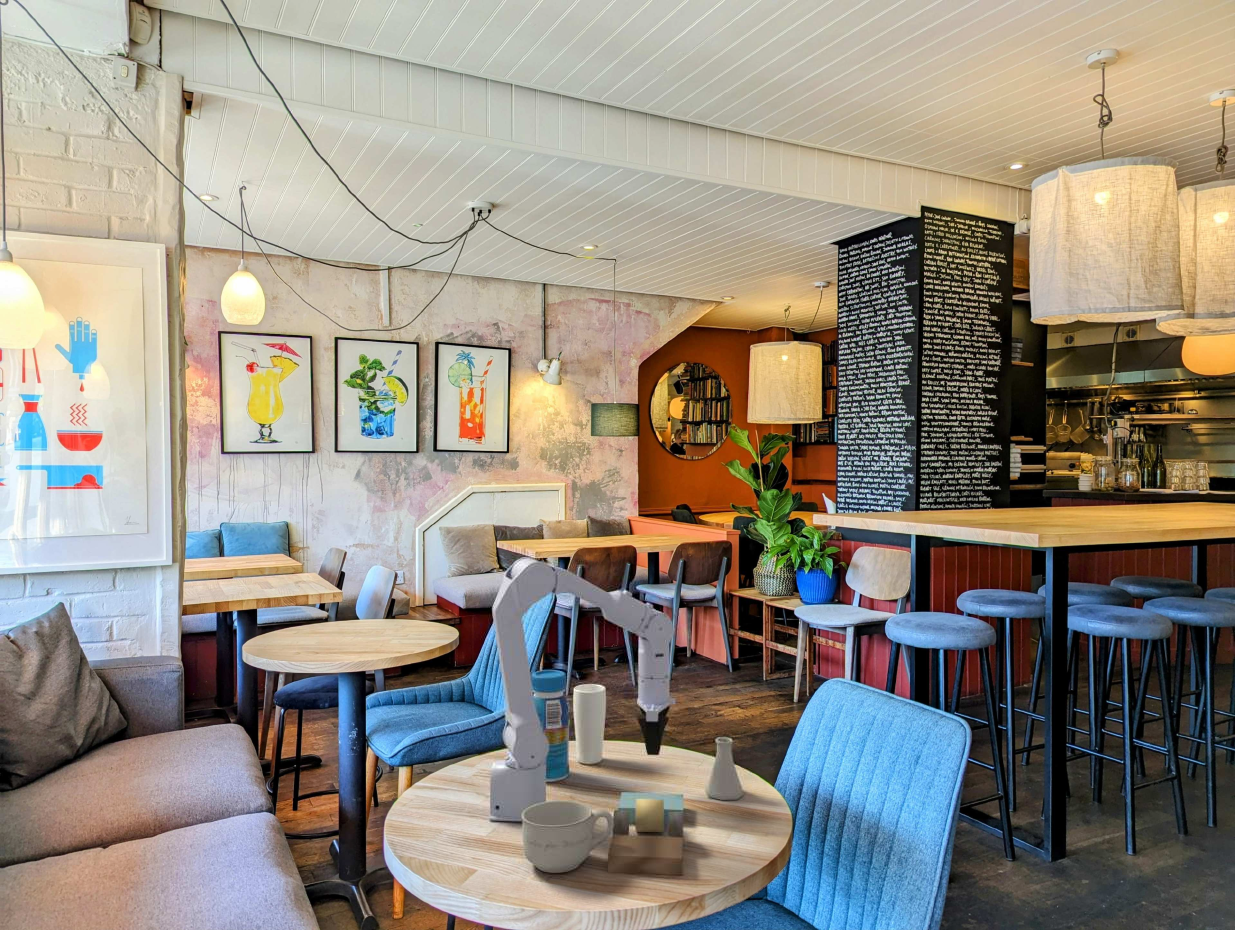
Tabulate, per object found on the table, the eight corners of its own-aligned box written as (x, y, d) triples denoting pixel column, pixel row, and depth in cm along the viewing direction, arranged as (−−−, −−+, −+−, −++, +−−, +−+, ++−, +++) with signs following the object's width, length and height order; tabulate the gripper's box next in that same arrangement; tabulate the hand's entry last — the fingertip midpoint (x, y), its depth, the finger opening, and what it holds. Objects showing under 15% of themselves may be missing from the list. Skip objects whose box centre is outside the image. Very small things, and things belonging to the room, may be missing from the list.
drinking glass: (612, 759, 169) (612, 686, 169) (593, 768, 163) (594, 693, 164) (585, 753, 173) (585, 682, 173) (566, 762, 167) (566, 689, 167)
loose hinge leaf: (615, 835, 133) (615, 804, 133) (621, 806, 145) (621, 778, 145) (682, 838, 132) (682, 807, 132) (683, 808, 144) (683, 780, 144)
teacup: (515, 880, 118) (515, 825, 118) (527, 846, 129) (527, 795, 129) (611, 882, 118) (611, 827, 118) (615, 848, 128) (615, 797, 128)
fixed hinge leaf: (608, 872, 121) (608, 838, 121) (615, 835, 133) (615, 804, 133) (682, 875, 120) (682, 841, 120) (682, 838, 132) (683, 807, 132)
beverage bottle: (519, 780, 157) (519, 676, 157) (538, 765, 165) (538, 666, 165) (559, 786, 154) (559, 680, 155) (576, 771, 162) (577, 670, 162)
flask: (743, 803, 146) (742, 747, 147) (702, 799, 148) (702, 744, 148) (744, 788, 154) (744, 734, 154) (706, 785, 155) (706, 732, 155)
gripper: (674, 686, 143) (674, 763, 142) (676, 666, 157) (676, 737, 157) (634, 685, 143) (634, 762, 143) (639, 666, 158) (639, 736, 157)
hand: (653, 749), depth 150 cm, fingers open, 5 cm apart
